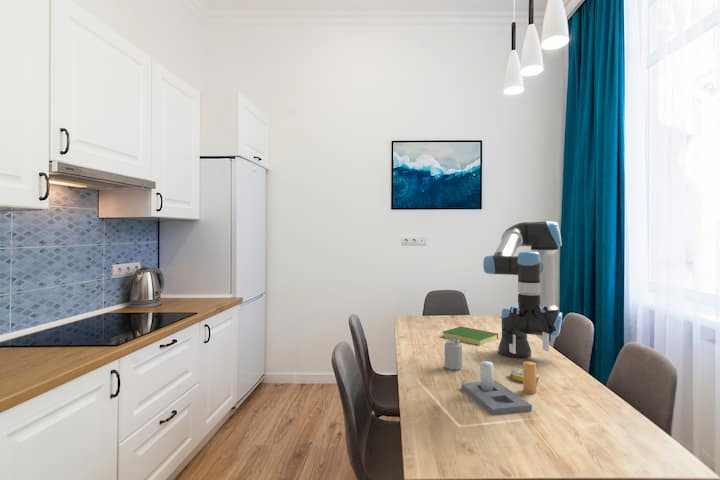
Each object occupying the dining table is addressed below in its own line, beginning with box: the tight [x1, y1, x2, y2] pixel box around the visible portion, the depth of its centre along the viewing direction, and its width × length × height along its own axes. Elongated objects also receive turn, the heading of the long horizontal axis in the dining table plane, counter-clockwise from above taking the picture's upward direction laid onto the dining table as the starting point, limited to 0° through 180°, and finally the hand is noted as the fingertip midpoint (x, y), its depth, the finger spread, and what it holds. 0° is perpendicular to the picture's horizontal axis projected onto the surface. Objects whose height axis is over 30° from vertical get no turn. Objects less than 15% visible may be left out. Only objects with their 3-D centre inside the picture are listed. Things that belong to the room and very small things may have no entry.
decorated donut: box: [510, 367, 540, 384], centre depth 152 cm, size 10×11×4 cm
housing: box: [461, 380, 533, 416], centre depth 133 cm, size 22×14×2 cm, turn 10°
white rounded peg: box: [480, 360, 494, 392], centre depth 138 cm, size 4×4×11 cm
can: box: [444, 339, 463, 371], centre depth 167 cm, size 8×8×12 cm
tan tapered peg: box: [522, 360, 537, 395], centre depth 139 cm, size 4×4×11 cm
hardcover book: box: [442, 326, 499, 346], centre depth 217 cm, size 25×19×4 cm
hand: (529, 351), depth 139 cm, fingers open, 13 cm apart
